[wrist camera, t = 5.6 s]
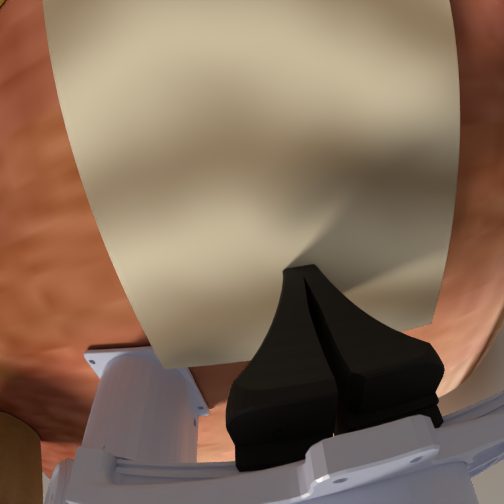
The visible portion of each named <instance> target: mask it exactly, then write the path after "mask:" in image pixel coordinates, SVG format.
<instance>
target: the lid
mask: <svg viewBox="0 0 504 504" xmlns="http://www.w3.org/2000/svg"><path fill="white" fill-rule="evenodd" d="M43 8H44V17H45V25H46V32H47V39H48V46H49V52H50V58H51V63H52V68H53V74H54V79H55V83H56V88H57V93H58V97H59V101H60V106H61V110H62V114H63V118H64V122H65V126H66V129H67V133H68V137H69V140H70V144H71V147H72V151H73V154H74V158H75V161H76V164H77V167H78V171H79V174H80V177H81V180H82V183H83V186H84V189H85V192H86V195H87V198H88V201H89V204H90V206H91V209H92V212H93V215H94V217H95V220H96V223H97V226H98V228H99V231H100V233H101V236H102V239H103V241H104V244H105V246H106V249H107V251H108V253H109V256H110V258H111V261H112V263H113V265H114V268H115V270H116V272H117V275H118V277H119V279H120V282H121V284H122V286H123V288H124V291H125V293H126V295H127V297H128V299H129V301H130V304H131V306H132V308H133V310H134V312H135V314H136V316H137V318H138V320H139V322H140V324H141V326H142V328H143V330H144V332H145V334H146V336H147V338H148V340H149V342H150V344H151V346H152V348H153V350H154V352H155V354H156V355H157V357H158V359H159V361H160V363H161V365H162V366H163V368H164V369H173V368H186V367H197V366H208V365H217V364H226V363H235V362H243V361H250V360H252V358H253V357H254V355H255V354H256V352H257V351H258V349H259V348H260V346H261V344H262V342H263V340H264V338H265V336H266V335H267V333H268V330H269V328H270V326H271V324H272V321H273V318H274V316H275V313H276V310H277V306H278V303H279V299H280V295H281V290H282V283H283V273H282V271H283V270H284V269H286V268H292V267H298V266H304V265H310V264H315V265H316V266H317V267H318V268H319V269H320V271H321V272H322V273H323V274H324V275H325V276H326V277H327V278H328V280H329V281H330V282H331V283H332V284H333V285H334V286H335V287H336V288H337V289H338V290H339V291H340V292H341V293H342V294H344V295H345V296H346V297H347V298H348V299H349V300H350V301H352V302H353V303H354V304H355V305H356V306H358V307H359V308H360V309H362V310H363V311H364V312H366V313H367V314H369V315H370V316H371V317H373V318H375V319H376V320H378V321H380V322H382V323H383V324H385V325H387V326H389V327H391V328H393V329H395V330H397V331H399V332H401V331H405V330H409V329H413V328H417V327H420V326H424V325H428V324H431V323H432V319H433V315H434V312H435V308H436V304H437V300H438V296H439V292H440V287H441V283H442V278H443V274H444V269H445V264H446V259H447V254H448V248H449V242H450V236H451V230H452V223H453V216H454V208H455V199H456V190H457V179H458V166H459V147H460V90H459V72H458V59H457V49H456V40H455V32H454V25H453V18H452V12H451V6H450V1H449V0H43Z"/></svg>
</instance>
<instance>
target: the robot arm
mask: <svg viewBox="0 0 504 504" xmlns="http://www.w3.org/2000/svg"><path fill="white" fill-rule="evenodd" d="M282 273H283V283H282V290H281V295H280V299H279V303H278V306H277V310H276V313H275V316H274V318H273V321H272V324H271V326H270V328H269V330H268V333H267V335H266V336H265V338H264V340H263V342H262V344H261V346H260V348H259V349H258V351H257V352H256V354H255V355H254V357H253V358H252V360H251V361H250V363H249V364H248V365H247V367H246V368H245V369H244V370H243V372H242V373H241V374H240V375H239V376H238V377H237V379H236V380H235V381H234V382H233V384H232V387H231V390H230V394H229V397H228V401H227V407H226V428H227V431H228V433H229V435H230V437H231V439H232V441H233V443H234V444H235V461H231V462H207V463H197V441H198V422H199V416H207V415H209V408H208V406H207V404H206V402H205V401H204V399H203V397H202V395H201V393H200V391H199V389H198V387H197V385H196V383H195V381H194V378H193V376H192V374H191V372H190V370H189V368H188V367H186V368H173V369H164V368H163V366H162V365H161V363H160V361H159V359H158V357H157V355H156V354H155V352H154V350H153V348H152V346H147V347H134V348H119V349H101V350H86V351H85V353H84V357H85V359H86V360H87V362H88V363H89V364H90V366H91V367H92V369H93V370H94V371H95V373H96V374H97V376H98V377H99V378H100V381H99V384H98V388H97V391H96V394H95V398H94V401H93V404H92V408H91V411H90V415H89V418H88V422H87V426H86V429H85V433H84V437H83V441H82V445H81V447H77V451H76V455H75V459H74V460H72V459H70V458H68V459H66V460H65V461H62V462H59V463H58V464H57V465H56V467H55V469H54V472H53V474H52V477H51V480H50V483H49V487H48V490H47V494H46V499H45V503H44V504H479V503H478V500H477V497H476V494H475V491H474V488H473V485H472V482H471V479H470V478H472V477H474V476H476V475H478V474H479V473H481V472H483V471H485V470H487V469H488V468H490V467H491V466H493V465H495V464H497V463H498V462H500V461H501V460H503V459H504V390H503V391H501V392H499V393H497V394H495V395H493V396H491V397H488V398H486V399H484V400H482V401H480V402H478V403H475V404H473V405H471V406H468V407H466V408H464V409H461V410H459V411H456V412H454V413H451V414H449V415H446V416H444V417H442V416H441V413H440V411H439V408H438V406H437V404H438V402H439V400H438V397H437V395H436V393H435V392H436V390H437V388H438V386H439V384H440V382H441V379H442V377H443V374H444V371H445V370H444V365H443V363H442V361H441V359H440V357H439V356H438V354H437V352H436V351H435V350H434V348H433V347H432V346H431V344H430V343H428V342H425V341H422V340H419V339H416V338H413V337H410V336H408V335H406V334H403V333H401V332H399V331H397V330H395V329H393V328H391V327H389V326H387V325H385V324H383V323H382V322H380V321H378V320H376V319H375V318H373V317H371V316H370V315H369V314H367V313H366V312H364V311H363V310H362V309H360V308H359V307H358V306H356V305H355V304H354V303H353V302H352V301H350V300H349V299H348V298H347V297H346V296H345V295H344V294H342V293H341V292H340V291H339V290H338V289H337V288H336V287H335V286H334V285H333V284H332V283H331V282H330V281H329V280H328V278H327V277H326V276H325V275H324V274H323V273H322V272H321V271H320V269H319V268H318V267H317V266H316V265H315V264H310V265H304V266H298V267H292V268H286V269H284V270H283V271H282ZM333 433H334V437H333Z"/></svg>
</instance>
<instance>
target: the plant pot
mask: <svg viewBox="0 0 504 504" xmlns="http://www.w3.org/2000/svg"><path fill="white" fill-rule="evenodd" d="M0 504H43V485H42V459H41V445H40V437H39V435H38V434H37V433H36V432H35V431H34V430H33V429H32V428H31V427H30V426H28V425H27V424H26V423H24V422H23V421H21V420H19V419H18V418H16V417H14V416H12V415H10V414H7V413H4V412H0Z"/></svg>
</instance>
